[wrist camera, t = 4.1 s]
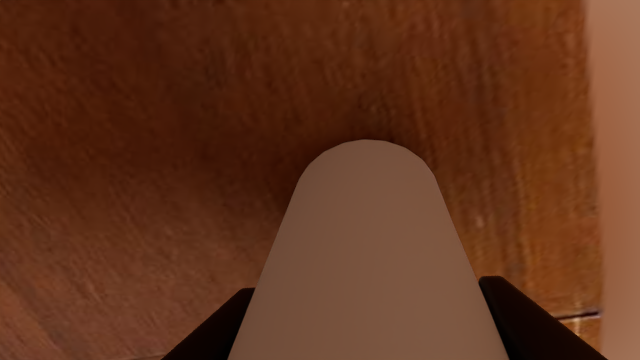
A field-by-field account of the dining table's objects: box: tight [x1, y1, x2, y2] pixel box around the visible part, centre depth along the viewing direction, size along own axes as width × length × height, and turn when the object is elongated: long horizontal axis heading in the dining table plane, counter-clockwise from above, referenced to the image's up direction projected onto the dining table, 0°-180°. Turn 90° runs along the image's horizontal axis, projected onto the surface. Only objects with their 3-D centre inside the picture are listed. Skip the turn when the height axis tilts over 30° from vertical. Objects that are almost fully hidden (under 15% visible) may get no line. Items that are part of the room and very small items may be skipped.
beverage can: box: [227, 139, 510, 360], centre depth 7 cm, size 5×5×12 cm
